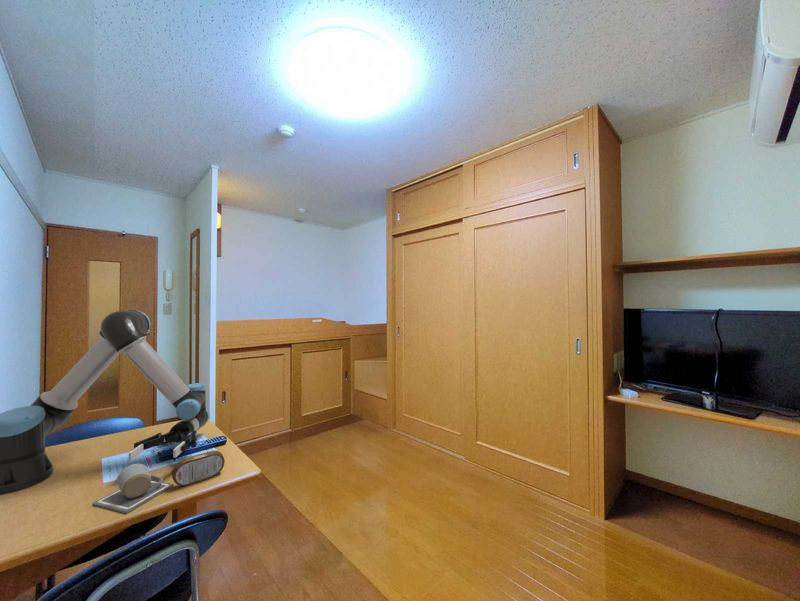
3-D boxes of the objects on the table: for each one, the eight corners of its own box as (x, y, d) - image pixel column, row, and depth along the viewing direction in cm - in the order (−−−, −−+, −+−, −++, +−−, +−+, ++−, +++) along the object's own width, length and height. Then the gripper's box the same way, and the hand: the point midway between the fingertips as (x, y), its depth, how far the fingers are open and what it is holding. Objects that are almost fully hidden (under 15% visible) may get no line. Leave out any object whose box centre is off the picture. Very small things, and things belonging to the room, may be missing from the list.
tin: (223, 470, 114) (222, 446, 114) (225, 473, 112) (225, 449, 112) (171, 487, 104) (171, 461, 104) (173, 491, 102) (172, 464, 102)
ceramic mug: (122, 504, 94) (122, 478, 94) (116, 493, 100) (116, 468, 100) (165, 488, 102) (165, 464, 102) (158, 478, 108) (158, 455, 108)
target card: (92, 505, 95) (92, 502, 95) (141, 479, 108) (141, 477, 108) (126, 514, 91) (126, 511, 91) (173, 486, 105) (173, 483, 105)
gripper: (217, 436, 131) (192, 463, 110) (150, 441, 128) (110, 469, 107) (217, 418, 131) (192, 441, 110) (149, 422, 128) (110, 447, 107)
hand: (152, 455), depth 109 cm, fingers open, 13 cm apart
